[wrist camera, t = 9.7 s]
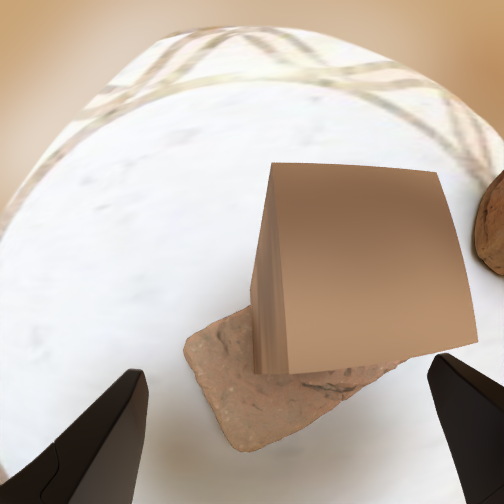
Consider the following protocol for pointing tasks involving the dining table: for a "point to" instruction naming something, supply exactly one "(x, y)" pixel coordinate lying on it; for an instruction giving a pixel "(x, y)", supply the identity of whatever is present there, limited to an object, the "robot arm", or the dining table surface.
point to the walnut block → (356, 270)
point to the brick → (264, 385)
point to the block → (491, 226)
